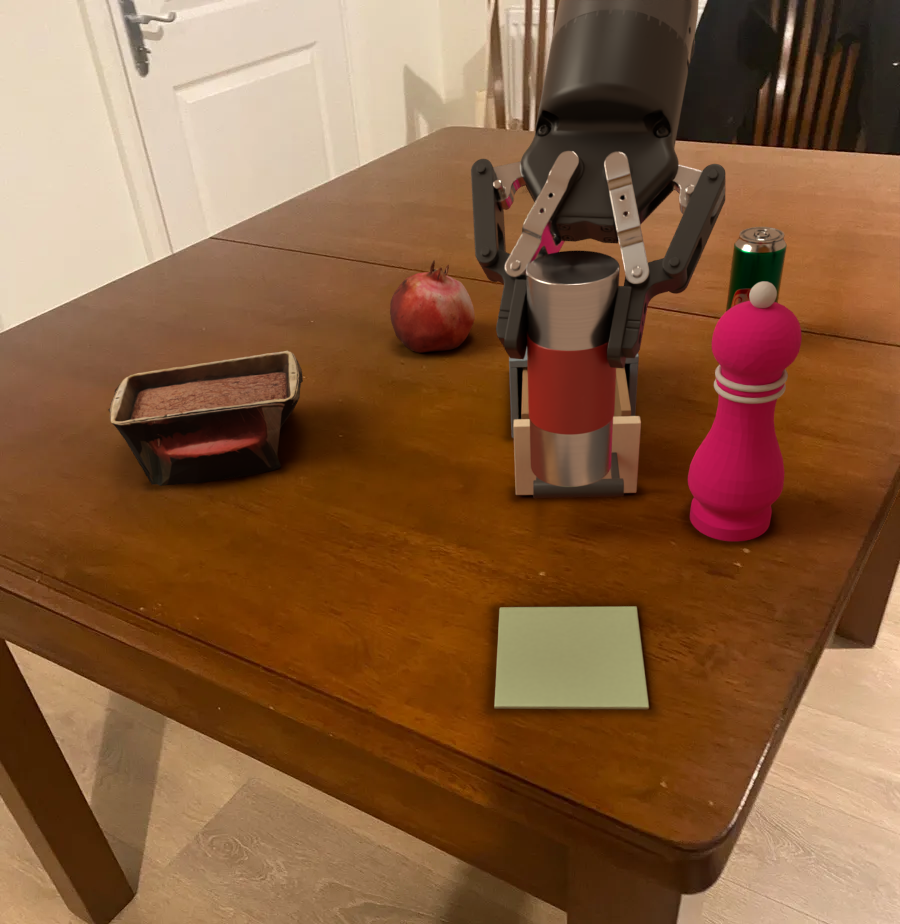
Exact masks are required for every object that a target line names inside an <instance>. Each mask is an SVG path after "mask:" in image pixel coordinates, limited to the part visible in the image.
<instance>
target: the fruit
mask: <svg viewBox="0 0 900 924" xmlns="http://www.w3.org/2000/svg"><path fill="white" fill-rule="evenodd" d="M435 265H436V260H435V259H433V261H432V262H431V265H430V267H429V271H428V272H417V273H414V274H412V275H409V276H407V277H406V278H404V279H403V281H402V282H401V283H400V284H399V285H398V287H397V289H396V290H395V291H394V293H393V295H392V296H391V299H390V303H389V306H390V307H389V315H390V323H391V325H392V328H393V331H394V334H395V336H396V337H397V339H398V340H399V341H400V342H401V344H403V345H404V347H406V348H407V350H408V349H409V350H410V351H413V352H415V353H419V354H420V353H421V354H422V353H429V352H430V353H431V352H443V351H444V352H445V351H451V350H455V349H457V348H458V347H460V346H461V345H462V344H463V343H464V342H465V340H466V339H467V337H468V336H469V334H470V333H471V331H472V328H473V325H474V323H475V319H476V316H475V310H474V309H475V308H474V305H473V302H472V301H473V300H472V299H471V296H470V295H469V292H468V290H467V289H466V287H465V285H464V284H463V283H462V282H461V281H460V280H457V279H456V278H454V277H452V276H450V275H448V274H449V270H450V266H449V264H447V266H446V267H445V268H444V271H443V268H442V267H439V268H435Z"/></svg>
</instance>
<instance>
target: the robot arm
mask: <svg viewBox="0 0 900 924" xmlns="http://www.w3.org/2000/svg"><path fill="white" fill-rule="evenodd" d="M699 3H700V2H699V0H559V2H558V6H557V11H556V15H555V21H554V27H553V32H552V36H551V37H552V38H551V43H550V48H549V52H548V53H549V54H548V60H547V65H546V70H545V75H544V81H543V85H542V92H541V96H540V102H539V108H538V112H537V117H536V123H535V132H534V137H533V138H532V141H531V143H530V145H529V146H528V148H527V149H526V150H525V152H524V153H523V154H522V156H521V158H520V160H519V161H516V162H511V163H507V164H503V165H502V164H501V165H497V166H493V164H492V162H491V161H490V160H489V159H487V158H480V159H477V160H476V161H475V162H473V164H472V166H471V169H470V177H471V178H470V181H471V200H472V201H471V202H472V217H473V219H472V220H473V239H474V256H475V259H476V261H477V262H478V264H479V266H480V267H481V269H482V271H483V273H484V274H485V276H486V278H487V279H488V280H489V281H490V282H492V283H501V284H502V285H503V289H502V294H501V299H500V305H499V311H498V316H497V319H496V326H495V331H496V335H497V339H498V340H499V343H500V344H501V345H502V347H503V348H504V351H505V352H506V354H507V355H508V358H509V357H510V358H513V359H524V357H525V354H526V348H527V331H528V326H527V282H526V269H527V266H528V265H529V264H530V263H531V262H532V261H533V260H535V259H537V258H539V257H541V256H544V255H547V254H551V253H556V252H561V250H562V248H563V246H564V244H565V243H566V242H575V243H576V242H580V241H585V240H594V241H597V242H600V243H603V244H619V249H620V254H621V259H622V266H623V270H624V275H625V276H624V282H623V285H619V287H618V293H617V298H616V304H615V309H614V315H613V320H612V326H611V331H610V337H609V342H608V348H607V360H608V362H609V365H610V367H612V368H624V366H625V362H626V358H635V357H636V355H637V353H638V354H639V351H641V345H642V340H643V334H644V329H645V324H646V323H645V322H646V318H647V312H648V307H649V303H650V302H651V300H653V299H654V297H656V296H658V295H661V294H665V293H668V292H669V293H671V294H675V295H677V294H681V293H683V292H685V290H686V289H687V288H688V286H689V284H690V282H691V280H692V277H693V275H694V274H695V271H696V268H697V265H698V264H699V261H700V259H701V257H702V255H703V252H704V250H705V248H706V245H707V243H708V241H709V239H710V237H711V234H712V232H713V229H714V228H715V226H716V223H717V221H718V218H719V217H720V214H721V211H722V209H723V207H724V205H725V203H726V191H727V180H726V179H727V178H726V169H725V168H724V167H723V165H721V164H718V163H711V164H708V165H706V166H705V167H704V168H703V169H702V170H701V169H699V168H695V167H691V166H687V165H683V164H679V163H680V162H679V157H678V154H677V153H676V149H675V147H676V142H677V136H678V129H679V125H680V119H681V113H682V107H683V102H684V96H685V92H686V91H685V90H686V85H687V80H688V75H689V69H690V64H691V63H692V60H693V56H694V53H695V49H696V48H695V47H696V41H695V40H696V38H695V35H696V30H697V24H698V16H699ZM523 187H526V189H527V191H528V193H529V195H530V198H531V199H532V201H533V205H532V207H531V209H530V210H529V212H528V213H527V216H526V217H525V219H524V220H523V223H522V227H521V234H520V235H519V238H518V239H517V241H516V243H515V245H514V247H513V248H512V250H511V252H510V253H509V252H507V247H506V246H507V245H506V228H505V227H506V226H505V212H504V211H508V210H509V209H511V207H512V205H513V203H514V202H515V197H516V193H517V192H518V190H519V189H520V188H523ZM674 191H675V192H677V193H678V204H679V206H678V207H679V212H681V214H682V216H681V219H680V220H679V223H678V225H677V227H676V230H675V232H674V234H673V236H672V239H671V241H670V243H669V245H668V248H667V250H666V252H665V255H664V257H663V258H658V259H655V260H652V261H649V262H648V256H647V252H646V247H645V242H644V236H643V231H642V224H643V223H644V222H645V221H646V220H647V219H648V218H649V217H650V216H651V215H652V213H654V211H655V210H656V209H657V208H659V206H660V205H661V204H663V202H664V201H665V200H666V199H667V198H668V197H669V196H670V195H671V194H672V193H673V192H674Z"/></svg>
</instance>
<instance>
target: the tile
mask: <svg viewBox="0 0 900 924" xmlns="http://www.w3.org/2000/svg"><path fill="white" fill-rule="evenodd" d="M497 630H498V631H497V649H496V666H495V684H494V687H495V688H494V703H493V707H494V709H495V710H497V709H498V710H499V709H500V710H503V709H504V710H509V709H510V710H649V709H650V703H649V694H648V686H647V679H646V678H647V677H646V671H645V670H646V669H645V662H644V653H643V645H642V637H641V629H640V622H639V613H638V607H637V606H636V605H635V606H634V605H632V606H629V605H628V606H627V605H626V606H624V605H623V606H622V605H621V606H620V605H619V606H508V607H507V606H506V607H505V606H501V607H499V610H498V627H497Z"/></svg>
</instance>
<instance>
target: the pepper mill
mask: <svg viewBox="0 0 900 924" xmlns="http://www.w3.org/2000/svg"><path fill="white" fill-rule="evenodd" d="M776 296H777V291H776V288H775V287H774V285H773V284H772V283H769V282H765V281H762V282H759V283H757V284H755V285H754V286H753V287H752V289H751V291H750V294H749V298H750V301H746V302H742V303H740V304H738V305H735V306H734V307H732V308H730V309H729V310H728V311H726V310H725V312H724V313H723V314H722V315H721V317H720V318H719V319H718V320H717V323H716V324H715V327H714V330H713V332H712V337H711V352H712V355H713V358H714V359H715V361H716V362H717V363H718V365H717V367H716V368H715V370H714V373H715V374H714V376H715V379H714V381H713V388H714V390H715V392H716V393H717V394H718V398H717V399H718V402H717V408H716V413H715V417H714V420H713V423H712V425H711V428H710V430H709V431H708V433H707V434H706V436H705V437H704V439H703V440H702V442H701V444H699V447H698V448H697V449H696V451H695V453H694V456H693V457H692V459H691V462H690V464H689V470H688V474H687V485H688V488H689V491H690V493H691V495H692V496H693V498H692V500H691V502H690V511H689V520H690V523H691V524H692V526H693V528H695V529H696V530H697V531H699V533H700V534H703V535H705V536H707V537H709V538H712V539H715V540H717V541H723V542H724V541H725V542H745V541H750V540H754V539H756V538H758V537H760V536H762V535H764V534H765V533H766V532H767V531H768V530H769V527H770V524H771V518H772V514H773V513H772V512H773V509H772V505H773V504H774V503H776V501H778V499H779V498H780V496H781V494H782V492H783V489H784V483H785V474H786V473H785V465H784V458H783V454H782V451H781V449H780V448H781V447H780V444H779V442H778V438H777V434H776V428H775V427H776V426H775V412H776V405H777V402H778V399H779V398H780V397H782V396H783V395H784V393H785V391H786V387H787V385H786V382H787V381H788V376H789V375H788V371H787V368H788V367H789V366H791V365H792V364H793V363H794V362H795V360H796V359H797V357H798V355H799V353H800V351H801V346H802V341H803V339H802V327H801V323H800V321H799V319H798V317H797V316H796V314H794V312H793V311H791V309H789V308H788V307H787V306H785V305H783V304H782V303H780V302H778V303H776V302H774V301H775V299H776Z"/></svg>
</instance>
